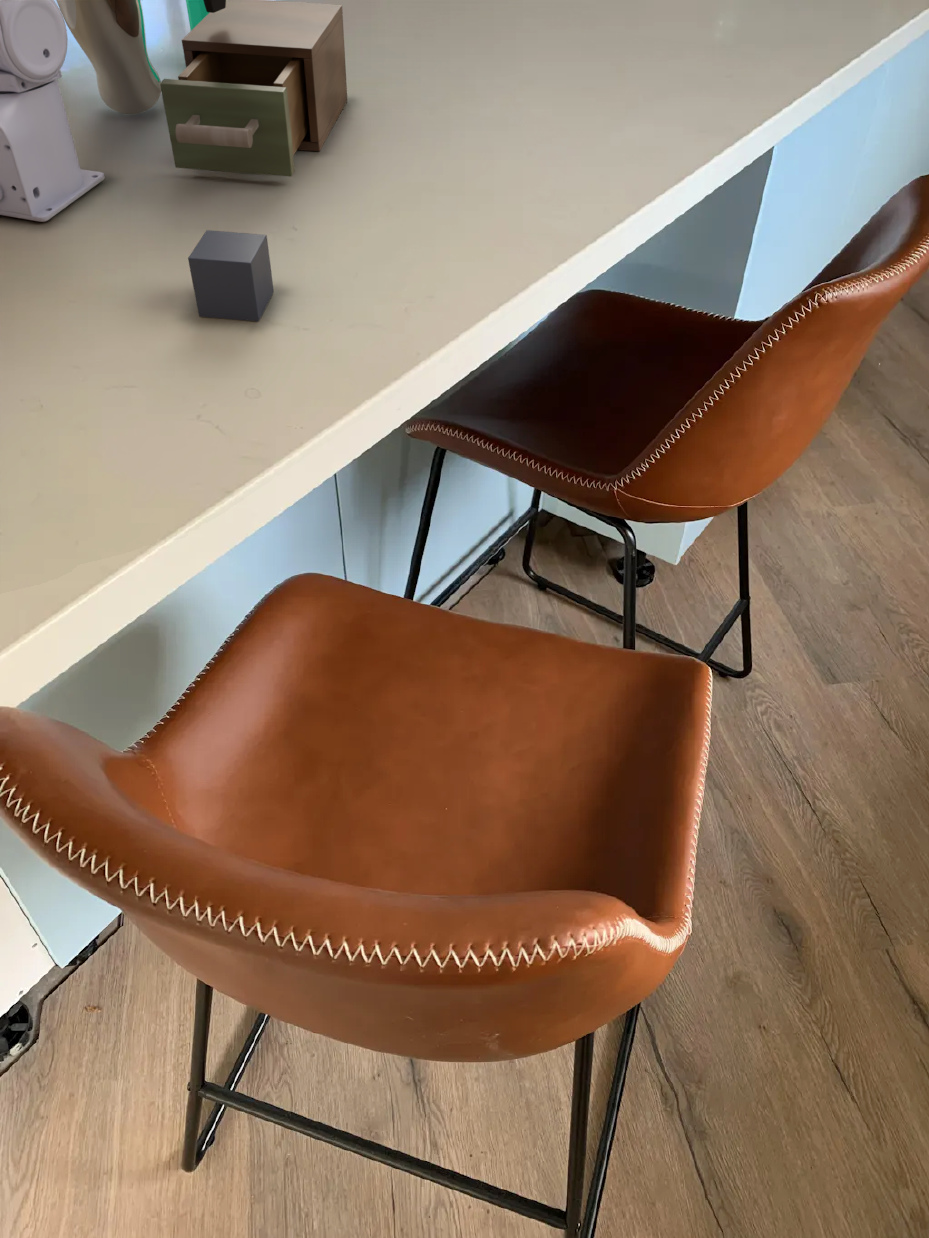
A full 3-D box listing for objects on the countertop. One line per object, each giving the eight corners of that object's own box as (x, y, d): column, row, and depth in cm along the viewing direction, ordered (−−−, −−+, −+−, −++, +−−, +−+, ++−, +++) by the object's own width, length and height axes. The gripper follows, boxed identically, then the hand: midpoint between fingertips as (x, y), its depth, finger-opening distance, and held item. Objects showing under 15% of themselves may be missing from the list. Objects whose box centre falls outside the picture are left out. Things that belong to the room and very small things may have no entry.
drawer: (280, 196, 80) (271, 109, 75) (160, 187, 81) (142, 100, 76) (322, 124, 91) (316, 44, 86) (216, 116, 92) (204, 37, 87)
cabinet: (319, 151, 89) (311, 48, 83) (198, 142, 90) (181, 40, 84) (347, 101, 98) (342, 4, 92) (237, 93, 99) (224, -3, 93)
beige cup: (130, 44, 95) (84, -92, 81) (181, 88, 95) (144, -41, 80) (79, 87, 94) (23, -43, 79) (130, 132, 94) (83, 9, 79)
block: (259, 322, 68) (250, 263, 65) (198, 317, 68) (187, 258, 65) (274, 292, 71) (267, 234, 68) (216, 287, 71) (206, 229, 68)
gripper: (253, -189, 77) (273, 4, 87) (109, -205, 81) (143, -18, 91) (202, -178, 73) (229, 24, 83) (52, -196, 77) (94, -1, 87)
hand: (181, 3), depth 87 cm, fingers open, 7 cm apart
